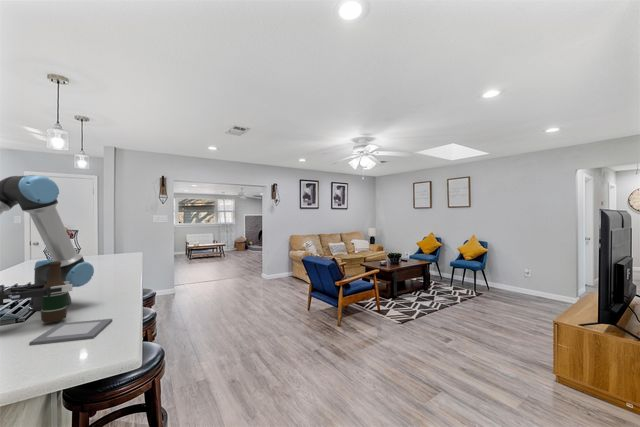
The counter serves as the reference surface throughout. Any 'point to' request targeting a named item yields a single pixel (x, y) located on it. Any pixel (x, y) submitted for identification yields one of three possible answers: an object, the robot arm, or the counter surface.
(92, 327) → the picture frame
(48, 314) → the beer bottle
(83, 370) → the counter surface
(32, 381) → the counter surface
